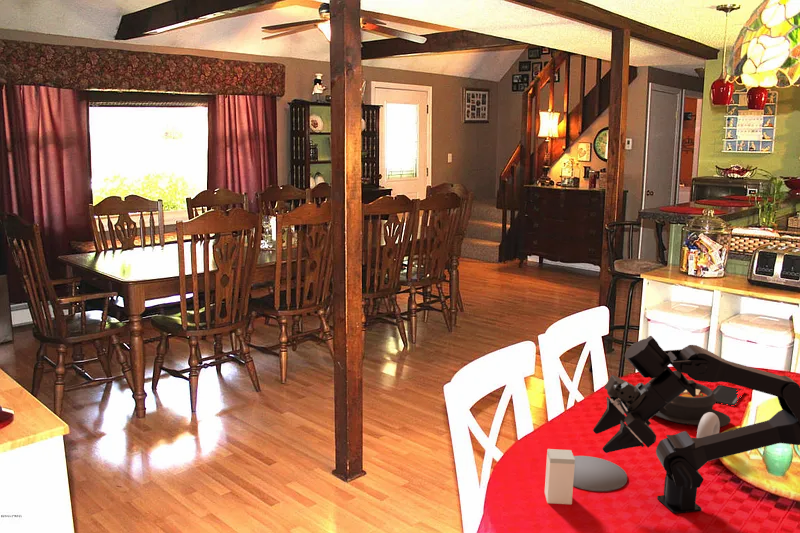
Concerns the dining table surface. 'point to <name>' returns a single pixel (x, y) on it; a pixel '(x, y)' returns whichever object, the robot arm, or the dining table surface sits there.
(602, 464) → the mat
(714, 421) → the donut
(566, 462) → the card box
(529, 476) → the dining table surface
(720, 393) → the phone
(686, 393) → the casserole
